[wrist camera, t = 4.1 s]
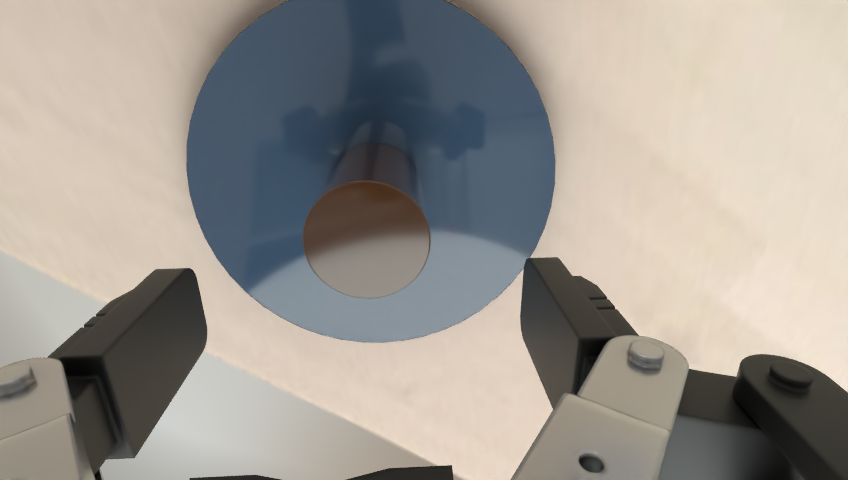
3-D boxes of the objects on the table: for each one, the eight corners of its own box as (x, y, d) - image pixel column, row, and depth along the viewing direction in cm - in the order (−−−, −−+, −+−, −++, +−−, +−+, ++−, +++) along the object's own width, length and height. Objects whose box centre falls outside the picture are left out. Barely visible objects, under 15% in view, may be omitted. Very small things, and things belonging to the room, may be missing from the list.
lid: (148, 247, 22) (42, 334, 15) (283, -102, 17) (212, -192, 11) (439, 372, 26) (453, 487, 19) (617, 112, 21) (719, 144, 14)
